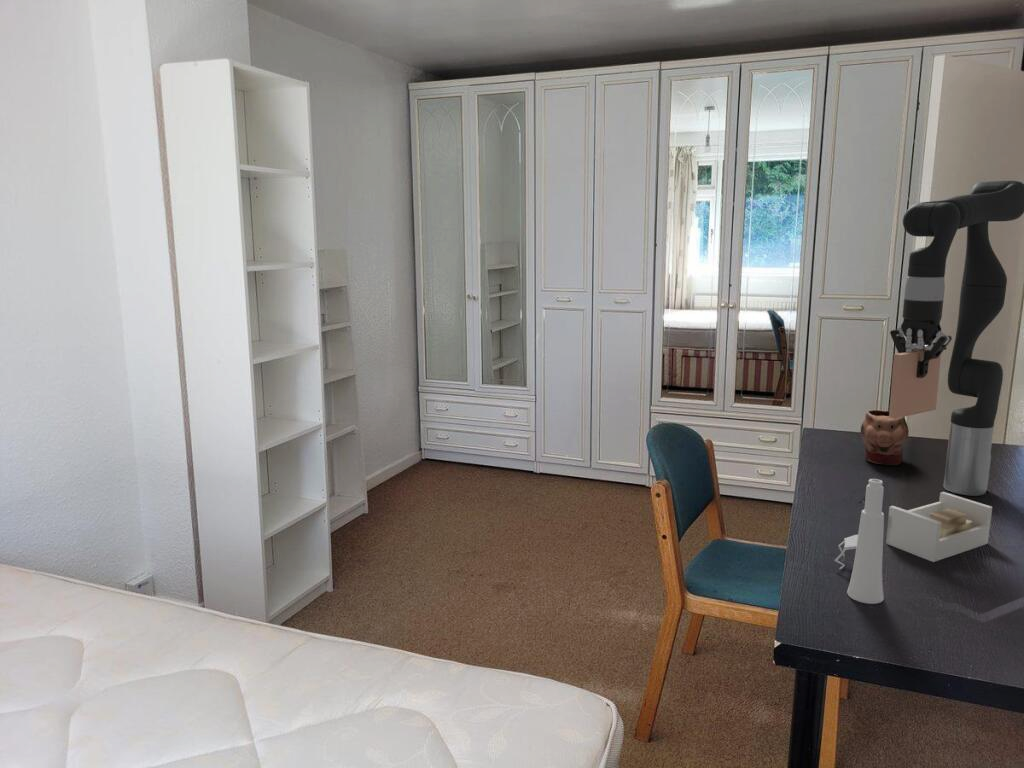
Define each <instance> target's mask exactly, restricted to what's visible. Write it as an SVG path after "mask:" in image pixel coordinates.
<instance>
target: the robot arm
mask: <svg viewBox="0 0 1024 768" xmlns="http://www.w3.org/2000/svg"><path fill="white" fill-rule="evenodd" d="M1023 215H1024V183H1023V182H1022V181H1018V180H996V181H995V180H993V181H981V182H980V181H979V182H977V183H976V184H974V186H973V187H972V188H971V190H970V194H962V195H956V196H952V197H949V198H945V199H942V200H932V201H924V202H922V201H921V202H917V203H914V204H912V205H911V206H910V207H908V208H907V210H906V211H905V213H904V215H903V218H902V225H903V229H904V230H905V232H906V233H908V234H909V235H911V236H913V237H920V238H921V237H922V238H923V237H929V238H930V237H933V239H932V241H931V243H930V244H929V245H928V246H925V247H924V246H923V247H920V248H916V249H915V248H914V249H913V250H911V251H910V253H909V258H908V266H907V267H908V269H907V278H906V283H905V287H904V297H903V298H904V299H903V309H902V319H903V321H902V323H901V325H900V327H898V328H897V329H892V330H890V332H889V333H890V337H891V339H892V340H893V341H892V342H893V343H894V346H895V348H896V351H897V354H898V353H904V352H910V351H917V350H919V356H918V359H919V361H918V365H917V378H923V377H925V375H927V373H928V364H929V360H931V359H936V358H938V357H939V356H940V354H941V355H942V353H943V352H944V350H945V349H946V348H947V347H948V345H949V343H951V341H952V339H953V337H952V336H951V335H946V334H945V333H944V332H942V326H941V324H940V323H941V320H942V316H943V306H944V298H945V287H946V286H945V275H946V266H947V258H948V255H949V251H950V249H951V246H952V244H953V241H954V240H955V239H954V238H955V236H956V234H957V231H958V230H960V229H963V228H966V247H965V248H966V250H965V258H964V267H963V273H962V280H961V287H960V294H959V295H960V296H959V304H958V305H959V307H958V308H959V309H958V317H957V324H956V332H955V337H954V343H953V347H952V352H951V357H950V362H949V365H948V366H949V367H948V373H947V386H948V390H949V391H950V392H951V393H952V394H956V395H960V396H966V397H971V398H976V403H975V405H972V406H970V407H969V406H968V407H961V408H960V407H959V408H956V409H953V410H952V412H951V416H950V423H949V424H950V425H949V431H948V433H949V434H948V443H947V452H946V460H945V467H944V469H945V470H944V478H943V489H945V490H946V491H948V492H950V493H952V494H958V495H965V496H971V497H972V496H973V497H974V496H976V497H977V496H982V495H985V494H986V491H987V490H988V485H989V476H990V470H991V469H990V468H991V460H992V453H991V451H992V444H993V436H994V426H995V421H996V416H997V413H998V409H999V408H998V407H999V403H1000V402H999V401H1000V396H1001V391H1002V386H1003V380H1004V379H1003V378H1004V370H1003V368H1002V365H1001V364H1000V363H999V362H998V361H992V360H986V359H978V358H972V357H973V351H974V349H975V346H976V343H977V341H978V339H979V337H980V336H981V334H982V333H983V332H984V331H985V330H986V328H987V327H988V326H989V325H990V324H991V323H992V322H993V321H994V320H995V319H996V317H997V316H998V315H999V314H1000V313H1001V310H1003V307H1004V305H1005V299H1006V292H1007V291H1006V290H1007V284H1008V277H1007V273H1006V272H1005V271H1006V270H1005V269H1004V267H1003V266H1002V263H1001V262H1000V260H999V258H998V257H997V255H996V254H995V251H994V250H993V248H992V245H991V242H990V236H989V222H1011V221H1015V220H1017V219H1019V218H1020V217H1022V216H1023ZM934 340H935V344H934ZM933 344H934V345H933Z"/></svg>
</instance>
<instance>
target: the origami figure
mask: <svg viewBox="0 0 1024 768" xmlns="http://www.w3.org/2000/svg"><path fill="white" fill-rule="evenodd" d="M857 539H858V534H853V535H850V536H848V537H844V538H843V541H842V542H841V543H839V544H838V549H839V551H840V554H839V555H838V556H837V557H836V558H835V559H834V562H836V563H838V564H840V565H841V566H840V567H839V570H842V569H843V568H844V567H845V564H844V563H842V562H844V560H845V559H846V558H847V557H845V556H846V554H845V552H846V551H847V550H856V547H857ZM843 545H844V546H843ZM841 546H843V549H842V547H841ZM841 557H843V558H842V559H841ZM839 559H841V561H840V560H839Z"/></svg>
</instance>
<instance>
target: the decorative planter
mask: <svg viewBox="0 0 1024 768" xmlns="http://www.w3.org/2000/svg"><path fill="white" fill-rule="evenodd" d="M909 433H910V432H909V426H908V423H907V421H906V416H905V417H900V418H896V419H895V418H891V417H889V410H882V409H875V410H874V409H871V410H867V411H866V413H865V418H864V420H863V421H862V423H861V425H860V436H861V438H862V441H863V444H864V448H865V454H864V458H865V460H866V461H868V462H870V463H873V464H879V465H885V466H886V465H887V466H898V465H900V464H901V463H902V460H903V446H904V444H905V442H907V440H908V439H909Z"/></svg>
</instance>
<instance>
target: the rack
mask: <svg viewBox="0 0 1024 768" xmlns="http://www.w3.org/2000/svg"><path fill="white" fill-rule="evenodd" d="M938 500H939V501H937V502H933V503H929V504H926V505H922V506H919V507H914V508H911V509H908V510H907V509H903V508H901V507H898V506H895V505H891V506H889V507H888V508H889V509H888V517H887V518H888V519H887V530H886V536H885V538H886V539H885V544H886V545H889V546H892V547H894V548H896V549H899V550H902V551H905V552H907V553H910V554H912V555H915V556H917V557H919V558H922V559H925V560H927V561H929V562H932V563H934V562H938V561H941V560H943V559H946V558H950V557H952V556H955V555H958V554H961V553H964V552H967V551H970V550H973V549H976V548H979V547H982V546H985V545H987V544H988V543H989V537H990V528H991V523H992V522H991V520H992V514H993V512H992V511H993V506H991V505H987V504H984V503H981V502H978V501H974V500H972V499H968V498H965V497H962V496H959V495H955V494H953V493H949V492H945V491H942V492H940V493H939V499H938ZM947 508H949V509H952V510H955V511H958V512H961V513H964V514H967V518H966V519H967V520H970V521H973V527H972V529H969V530H966V531H962V532H959V533H956V534H953V535H950V536H947V537H944V538H941V539H940V531H941V522H939V521H936V520H933V519H930V518H929V516H930V513H933V512H937V511H940V510H944V509H947Z"/></svg>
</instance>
